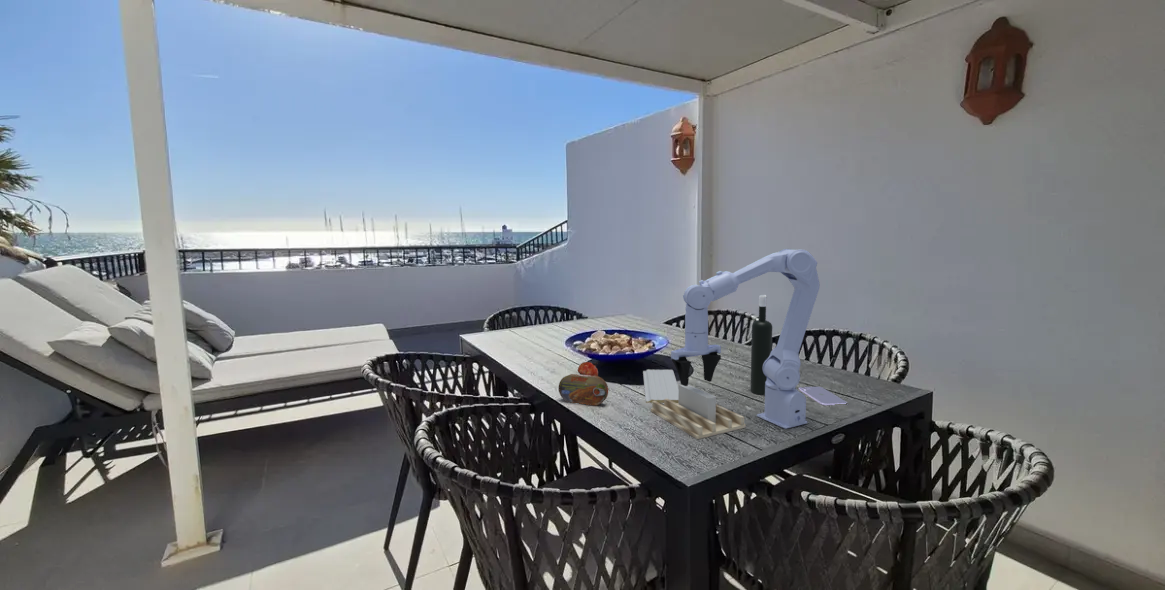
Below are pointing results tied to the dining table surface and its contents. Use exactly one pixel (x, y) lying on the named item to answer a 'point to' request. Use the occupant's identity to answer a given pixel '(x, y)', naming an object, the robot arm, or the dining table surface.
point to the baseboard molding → (660, 385)
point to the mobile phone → (822, 395)
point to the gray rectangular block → (698, 402)
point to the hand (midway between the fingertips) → (696, 382)
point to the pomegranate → (588, 369)
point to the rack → (698, 419)
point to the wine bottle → (760, 348)
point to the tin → (583, 389)
